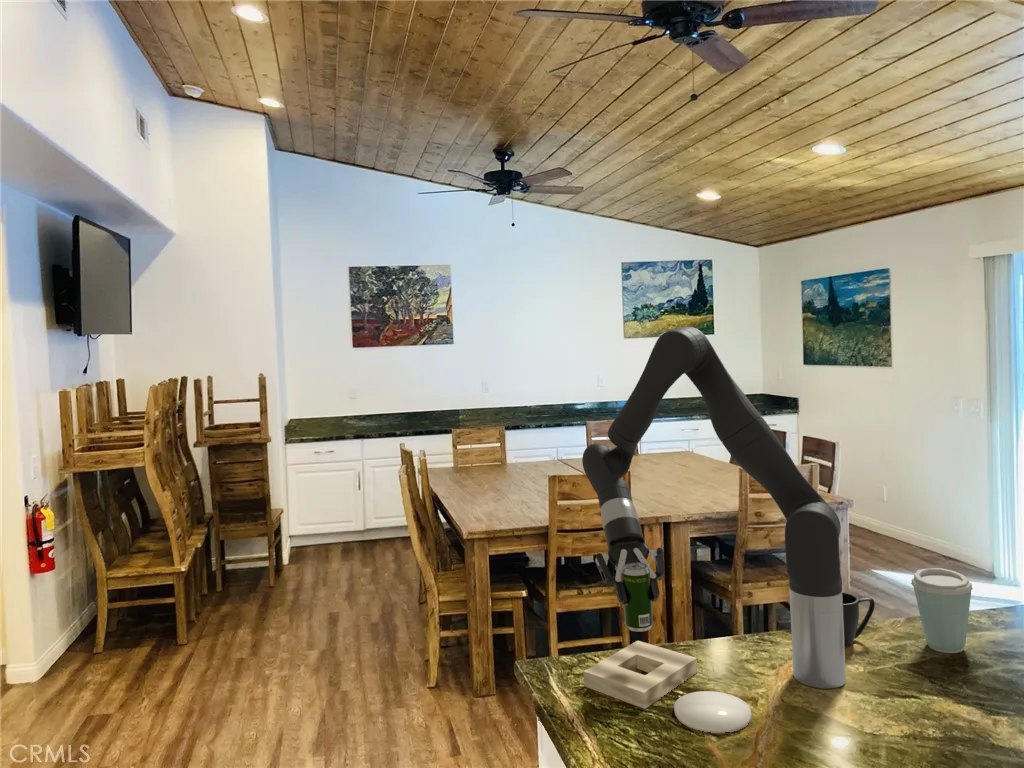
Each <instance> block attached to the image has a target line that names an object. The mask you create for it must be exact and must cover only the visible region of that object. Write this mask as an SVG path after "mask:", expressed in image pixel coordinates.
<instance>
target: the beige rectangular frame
mask: <svg viewBox="0 0 1024 768" xmlns="http://www.w3.org/2000/svg"><path fill="white" fill-rule="evenodd" d="M697 658H698V657H694V656H691V655H688V654H684V653H680V652H678V651H674V650H672V649H667V648H664V647H661V646H657V645H654V644H651V643H648V642H644V641H641V640H635V642H633V643H631V644H629V645H627V646H625V647H624V648H622V649H621V650H618V651H617V652H615V653H614V654H612V655H610V656H608V657H606V658H604V659H603V660H601V661H599V662H597V663H596V664H594V665H592V666H590V667H589V668H587V669H585V670H583V682H584V683H583V684H584V685H583V687H585V688H588V689H590V690H594V691H596V692H599V693H601V694H604V695H606V696H609V697H612V698H615V699H617V700H620V701H623V702H626V703H628V704H630V705H633V706H636V707H638V708H642V709H644V710H646V709H647V708H648V707H650V706H651V705H653V704H655V703H656V702H657V701H659V700H660V699H662V698H663V697H664V695H665V696H667V693H668V692H669V693H670V692H672V691H674V690H675V689H676V688H678V687H679V686H681V685H682V684H684V683H685V682H686V681H688V680H689V679H691V678H692V677H693V675H694V674H695V675H697V674H698V661H697ZM636 670H640V671H642V672H645V673H647V674H642V673H641V672H636ZM696 673H697V674H696ZM695 675H694V676H695ZM691 676H692V677H691ZM690 677H691V678H690ZM687 679H688V680H687ZM684 681H685V682H684ZM680 684H681V685H680ZM678 685H679V686H678ZM677 686H678V687H677ZM674 688H675V689H674ZM671 690H672V691H671ZM669 693H668V694H669ZM661 697H662V698H661Z"/></svg>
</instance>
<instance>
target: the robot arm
mask: <svg viewBox="0 0 1024 768" xmlns="http://www.w3.org/2000/svg"><path fill="white" fill-rule="evenodd" d="M683 375H686V376H687V378H688V379H689V380H690V381H691V383H692V384H693V385H694V387H696V389H697V391H698V392H699V393H700V395H701V396H702V399H703V400H704V404H705V406H706V410H707V412H708V416H709V420H710V422H711V426H712V428H713V431H714V432H715V434H716V436H717V438H718V439H719V441H720V442H721V444H722V445H723V446H724V447H725V449H726V450H727V452H728V453H729V455H730V456H731V457H732V459H733V460H734V461H735V463H737V464H738V466H739V467H741V469H742V470H743V471H744V472H745V473H747V474H748V475H749V476H750V477H752V479H754V480H755V482H757V483H759V485H761V487H762V488H764V489H765V490H766V492H767V493H768V494H769V495H770V496H771V498H772V499H773V500H774V502H775V504H776V505H777V507H778V508H779V510H780V511H781V513H782V515H783V516H784V518H785V520H786V522H785V525H784V548H785V559H786V560H785V562H786V564H785V565H786V573H787V578H788V586H789V588H788V590H789V611H790V612H789V613H790V628H791V652H792V653H791V654H792V672H793V677H794V679H795V680H796V681H798V682H799V683H801V684H803V685H805V686H808V687H813V688H816V689H817V688H818V689H836V688H840V687H842V686H843V685H845V684H846V681H847V678H846V677H847V675H846V649H845V648H846V647H845V646H844V621H843V599H842V592H843V579H842V574H841V562H840V540H839V539H840V535H841V522H840V521H841V520H840V519H839V516H838V514H837V512H836V511H835V510H834V509H833V508H832V507H831V505H829V503H828V502H827V501H826V500H825V499H824V498H823V497H822V496H821V495H820V494H819V493H818V492H817V491H816V489H815V488H814V487H813V486H812V485H811V484H810V482H809V481H808V480H807V479H806V478H805V477H804V476H803V474H802V472H801V471H800V470H799V469H798V467H797V466H796V464H795V462H794V461H793V459H792V458H791V456H790V455H789V453H788V452H787V450H786V448H785V447H784V445H783V444H782V443H781V441H780V440H779V438H778V437H777V435H776V434H775V432H774V431H773V430H772V428H771V426H770V425H769V424H768V423H767V421H766V420H765V419H764V417H763V416H762V415H761V413H760V412H759V411H758V409H757V408H755V406H754V405H753V404H752V402H751V401H750V399H749V398H748V397H747V395H746V394H745V393H744V391H743V390H742V389H741V388H740V387H739V385H738V384H737V383H736V381H734V379H733V378H732V376H731V374H730V373H729V372H728V370H727V369H726V367H725V365H724V364H723V362H722V361H721V358H720V357H719V355H718V354H717V352H716V350H715V348H714V347H713V344H711V342H710V340H709V339H708V337H707V336H706V335H705V333H703V332H702V331H701V330H699V329H698V328H695V327H693V326H687V325H686V326H681V327H677V328H673V329H669V330H667V331H665V332H663V333H662V334H661V335H660V336H659V337H658V338H657V339H656V341H655V343H654V346H653V348H652V350H651V351H650V354H649V357H648V360H647V362H646V364H645V366H644V369H643V371H642V374H641V375H640V376H639V379H638V381H637V383H636V385H635V387H634V388H633V390H632V392H631V394H630V395H629V397H628V399H627V400H626V402H625V403H624V405H623V406H622V408H621V409H620V411H619V412H618V414H617V416H616V417H615V418H614V420H613V421H612V423H611V424H610V426H609V428H608V430H607V437H608V440H609V441H610V442H611V443H612V444H613V445H614V446H615V447H613V446H609V445H606V444H600V443H591V444H589V445H588V446H587V447H586V448H585V449H584V451H583V453H582V467H583V470H584V473H585V476H586V477H587V479H588V481H589V483H590V485H591V486H592V488H593V490H594V492H595V493H596V495H597V499H598V504H599V508H600V516H601V523H602V524H601V526H602V528H603V531H604V537H605V540H606V541H605V542H606V545H607V549H608V551H607V553H604V554H602V553H601V552H600V553H599V552H598V553H596V556H595V564H596V565H595V566H596V567H597V569H598V572H599V573H600V576H601V578H602V581H603V584H605V586H613V587H614V589H615V594H616V598H617V601H618V602H620V603H621V605H623V606H624V604H626V602H627V597H626V593H625V589H624V584H623V582H622V570H623V565H624V564H627V563H633V562H640V563H645V564H647V565H648V569H649V571H650V582H651V598H652V603H654V602H657V600H658V599H659V598H660V597H659V596H660V588H659V585H658V581H662V580H663V577H664V574H665V565H664V564H665V562H664V561H665V560H664V550H663V548H662V547H657V549H652V548H651V549H650V548H649V547H648V546H647V545H646V542H645V538H644V535H643V531H642V527H641V524H640V519H639V516H638V513H637V510H636V507H635V505H634V501H633V498H632V493H631V491H630V487H629V485H628V482H627V481H625V480H624V479H623V477H625V475H627V473H628V472H629V470H630V468H631V466H632V465H631V464H632V461H633V458H634V454H635V452H636V449H637V445H638V444H639V443H640V441H641V439H642V438H643V437H644V435H646V432H647V431H648V430H649V427H650V426H651V424H653V421H654V419H655V416H656V414H657V412H658V409H659V406H660V404H661V401H662V399H663V398H664V396H665V395H666V394H667V392H668V391H669V389H670V388H671V387H672V386H673V385H674V384H675V383H676V382H677V381H678V380H679V379H680V378H681V377H682V376H683ZM649 556H650V557H651V560H652V561H653V562H654V564H655V571H654V570H653V569H652V568H651V564H650V563H649V561H648V560H647V559H648V557H649ZM608 560H609V561H610V562H611V563H612V564H613V565H614V566H615V567H616V568H617V569H616V571H615V572H616V573H615V576H613V575H612V574H611V572H610V569H609V567H608Z"/></svg>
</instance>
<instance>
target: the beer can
mask: <svg viewBox="0 0 1024 768" xmlns="http://www.w3.org/2000/svg"><path fill="white" fill-rule="evenodd" d="M621 582H623V584H624V589H625V593H626V597H627V602H626V604H624V605H623V609H624V611H623V612H624V623H625V627H626V628H627V629H628V630H629V631H631V632H647V631H649V630H651V629H652V627H653V624H654V617H653V602H652V598H651V582H650V571H649V569H648V565H647V564H645V563H640V562H633V563H627V564H624V565H623V570H622V579H621Z"/></svg>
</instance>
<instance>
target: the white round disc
mask: <svg viewBox="0 0 1024 768" xmlns="http://www.w3.org/2000/svg"><path fill="white" fill-rule="evenodd" d="M673 708H674V715H675V717H676V719H677V721H679V722H680V723H681V724H683V725H684V726H685V727H688V728H689V729H692V728H693V729H692V730H695V731H698V730H700V731H699V732H702V731H704V732H703V733H707V732H711V733H710V734H726V733H725V732H730V733H735V732H738V731H741V730H743V729H745V728H746V727H748V726H749V724H750V723H751V721H752V710H751V707H750V706H749V705H748V703H747V702H745V701H744V700H742V699H740V697H737V696H734V695H731V694H729V693H724V692H720V691H714V690H712V691H711V690H710V691H708V690H703V691H692V692H689V693H686V694H683V695H682V696H680V697H679V698H678V699H677V700H676V701H675V702H674V705H673ZM749 722H750V723H749ZM748 723H749V724H748ZM744 727H745V728H744ZM742 728H743V729H742ZM740 729H741V730H740ZM734 731H735V732H734Z"/></svg>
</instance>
